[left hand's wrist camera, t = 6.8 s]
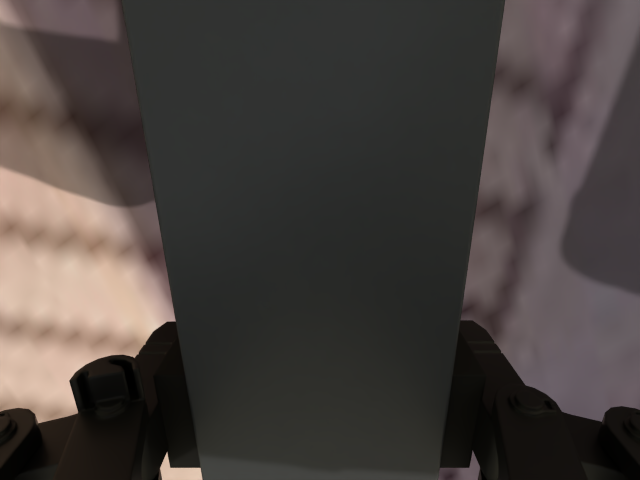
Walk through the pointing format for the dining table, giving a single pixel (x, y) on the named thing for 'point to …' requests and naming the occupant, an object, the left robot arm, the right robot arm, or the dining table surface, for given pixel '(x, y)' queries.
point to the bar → (316, 220)
